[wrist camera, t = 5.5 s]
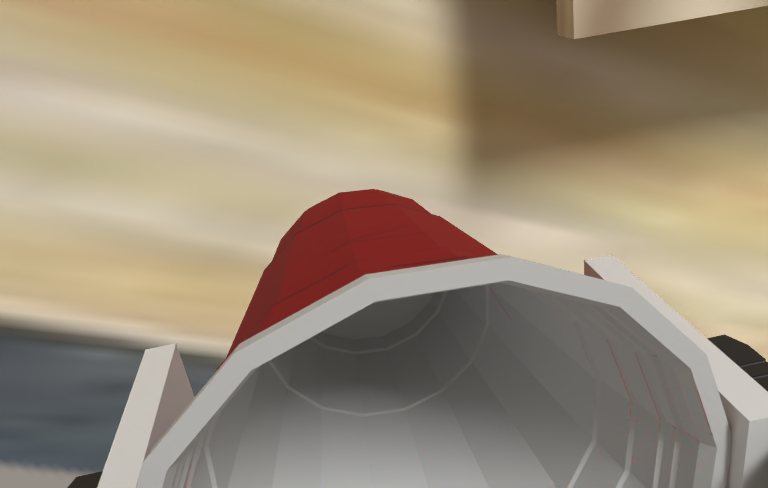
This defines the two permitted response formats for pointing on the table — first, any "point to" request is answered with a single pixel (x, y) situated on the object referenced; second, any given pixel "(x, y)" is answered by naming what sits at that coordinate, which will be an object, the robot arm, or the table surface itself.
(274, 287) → the plastic cup
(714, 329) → the table surface
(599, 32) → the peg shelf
